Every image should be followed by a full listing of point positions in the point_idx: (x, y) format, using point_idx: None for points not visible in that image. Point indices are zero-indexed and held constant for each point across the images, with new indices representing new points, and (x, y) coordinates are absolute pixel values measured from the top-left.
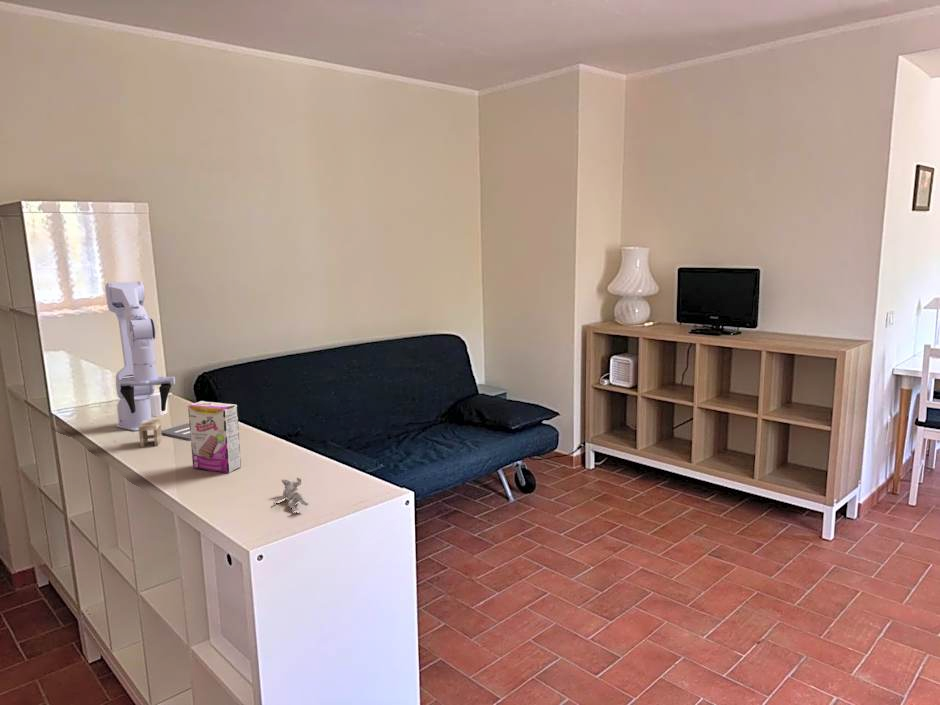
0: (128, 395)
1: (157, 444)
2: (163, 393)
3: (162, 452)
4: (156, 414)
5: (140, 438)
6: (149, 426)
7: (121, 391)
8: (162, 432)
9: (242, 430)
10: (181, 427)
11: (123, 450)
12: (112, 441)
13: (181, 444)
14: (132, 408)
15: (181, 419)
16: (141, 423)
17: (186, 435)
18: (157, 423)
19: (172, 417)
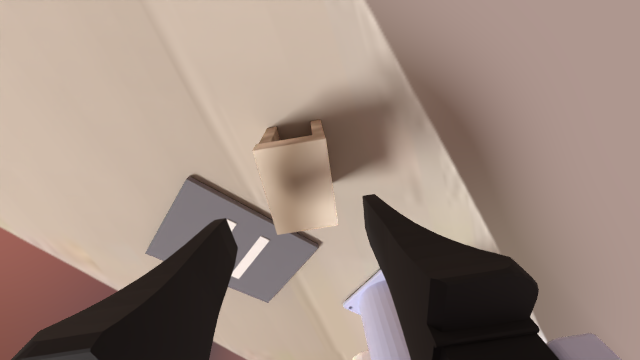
0: (423, 251)
1: (267, 129)
2: (127, 298)
3: (213, 44)
4: (369, 355)
5: (319, 127)
6: (279, 144)
7: (516, 266)
8: (302, 240)
9: (79, 253)
10: (267, 275)
11: (367, 92)
12: (423, 190)
13: (193, 137)
14: (372, 205)
15: (303, 333)
16: (330, 186)
17: (213, 208)
18: (261, 180)
19: (330, 344)
